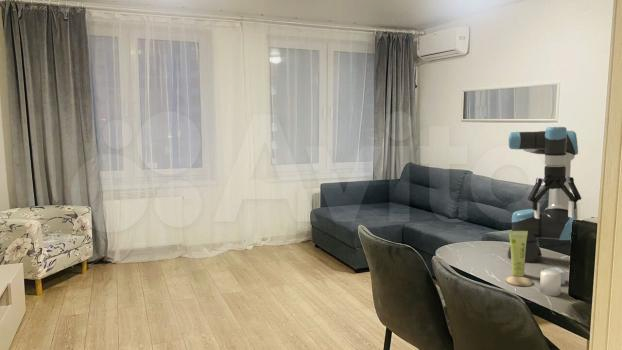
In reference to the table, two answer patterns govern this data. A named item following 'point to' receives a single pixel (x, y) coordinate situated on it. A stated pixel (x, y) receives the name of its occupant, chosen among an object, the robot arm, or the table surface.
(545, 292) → the white rounded cylinder
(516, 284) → the trivet
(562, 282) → the box
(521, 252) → the tube
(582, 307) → the table surface
